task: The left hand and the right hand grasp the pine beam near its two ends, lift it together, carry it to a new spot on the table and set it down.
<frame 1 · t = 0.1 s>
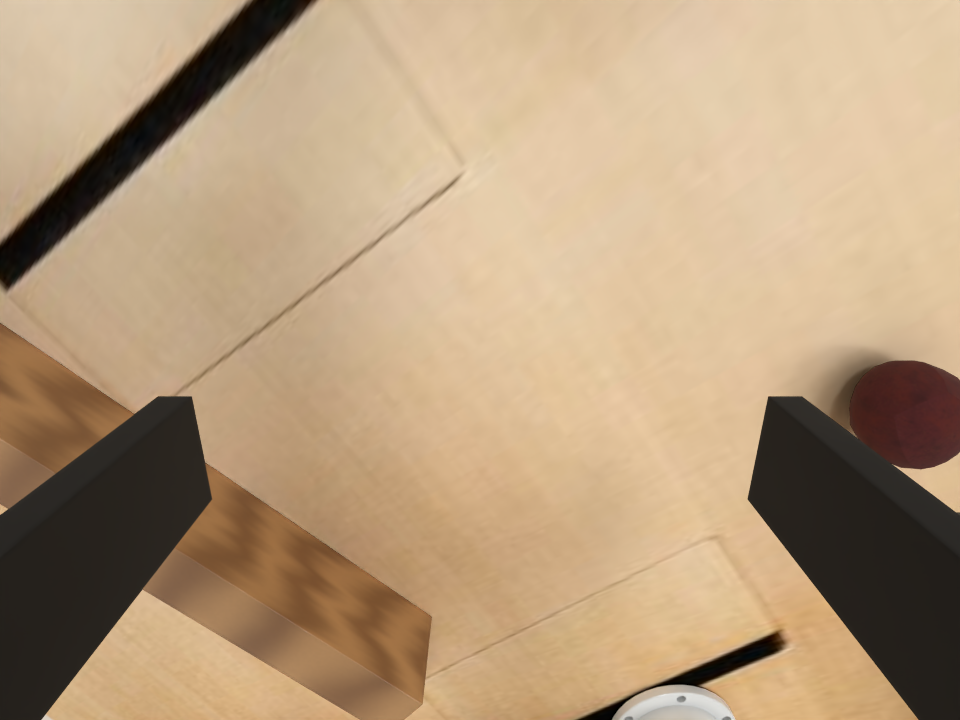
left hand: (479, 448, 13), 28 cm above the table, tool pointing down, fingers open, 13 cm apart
beam: (97, 418, 44), on the table
potato: (874, 391, 43), on the table
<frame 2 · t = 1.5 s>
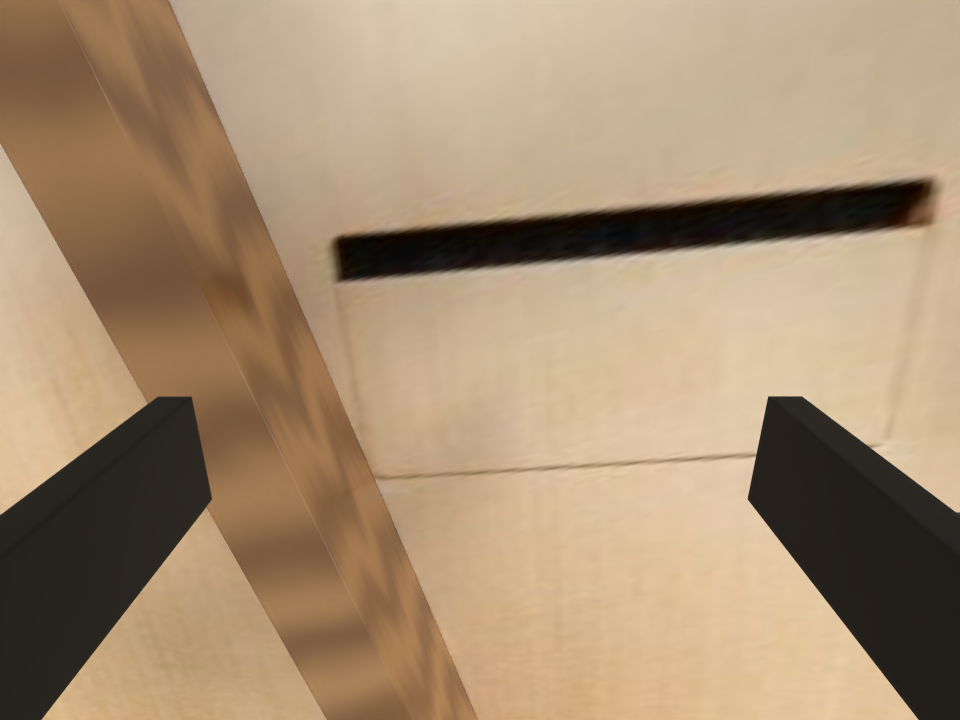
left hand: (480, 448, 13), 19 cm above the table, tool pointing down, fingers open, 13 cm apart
beam: (325, 452, 35), on the table
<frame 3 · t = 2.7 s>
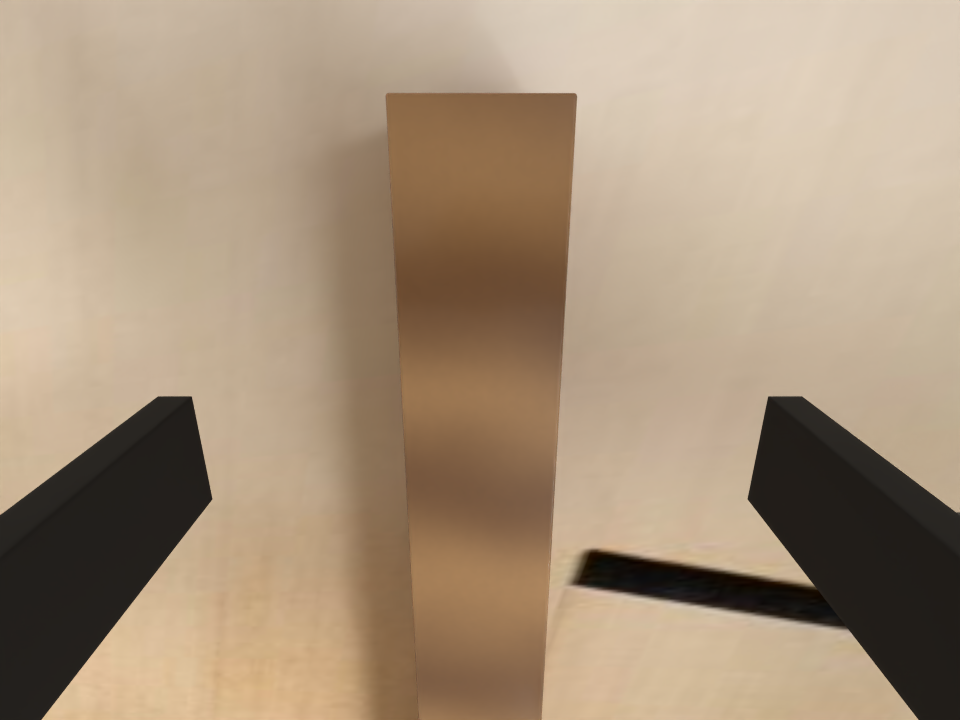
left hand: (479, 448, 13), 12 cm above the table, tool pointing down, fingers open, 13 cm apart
beam: (479, 717, 33), on the table, touching right hand
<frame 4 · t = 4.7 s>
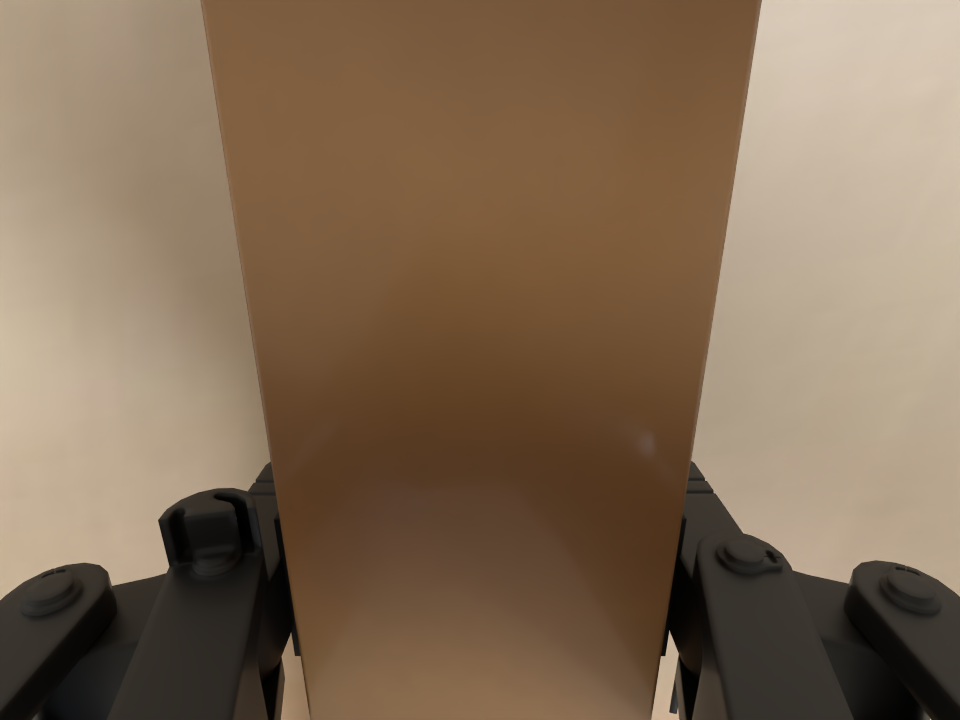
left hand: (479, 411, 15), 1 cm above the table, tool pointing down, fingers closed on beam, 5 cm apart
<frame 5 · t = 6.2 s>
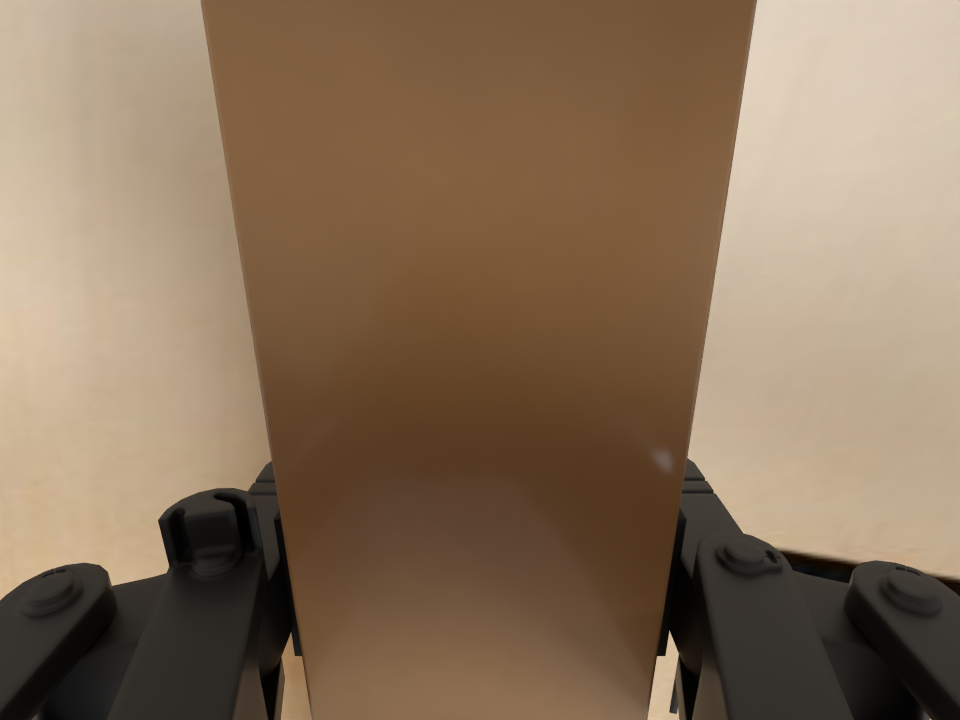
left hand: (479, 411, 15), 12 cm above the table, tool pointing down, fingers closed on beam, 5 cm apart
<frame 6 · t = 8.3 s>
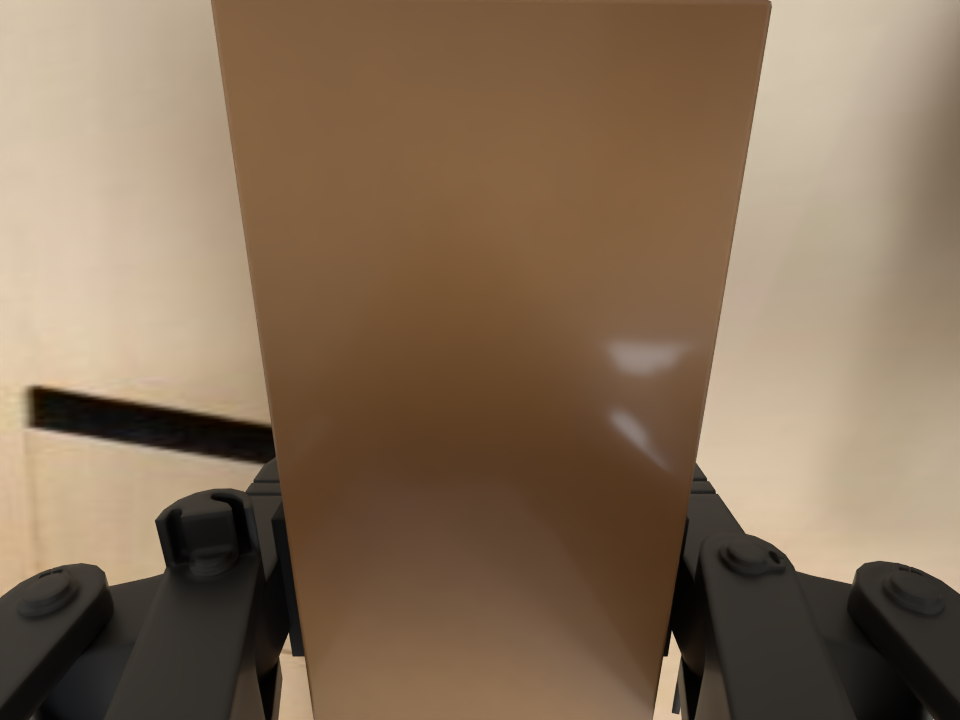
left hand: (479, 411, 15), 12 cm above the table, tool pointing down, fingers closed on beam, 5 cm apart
when the left hand's fingers open (2 cm above the table, at t = 10.0 s): beam drops 1 cm, on the table.
when the right hand's fingers open (5 cm above the table, at t = 10.1 s): beam stays where it is, on the table.
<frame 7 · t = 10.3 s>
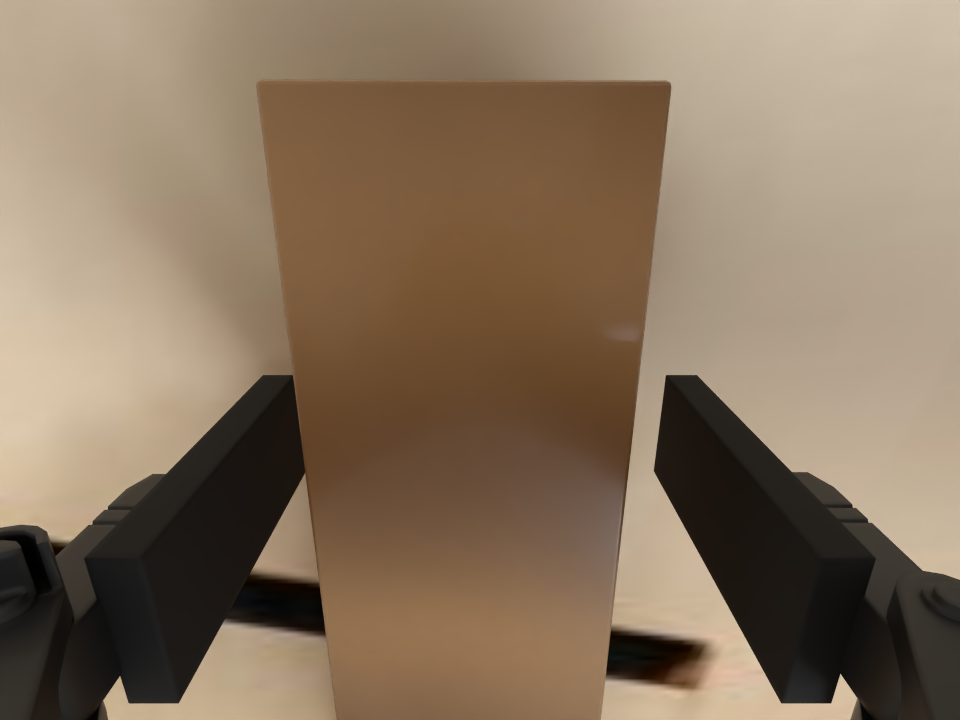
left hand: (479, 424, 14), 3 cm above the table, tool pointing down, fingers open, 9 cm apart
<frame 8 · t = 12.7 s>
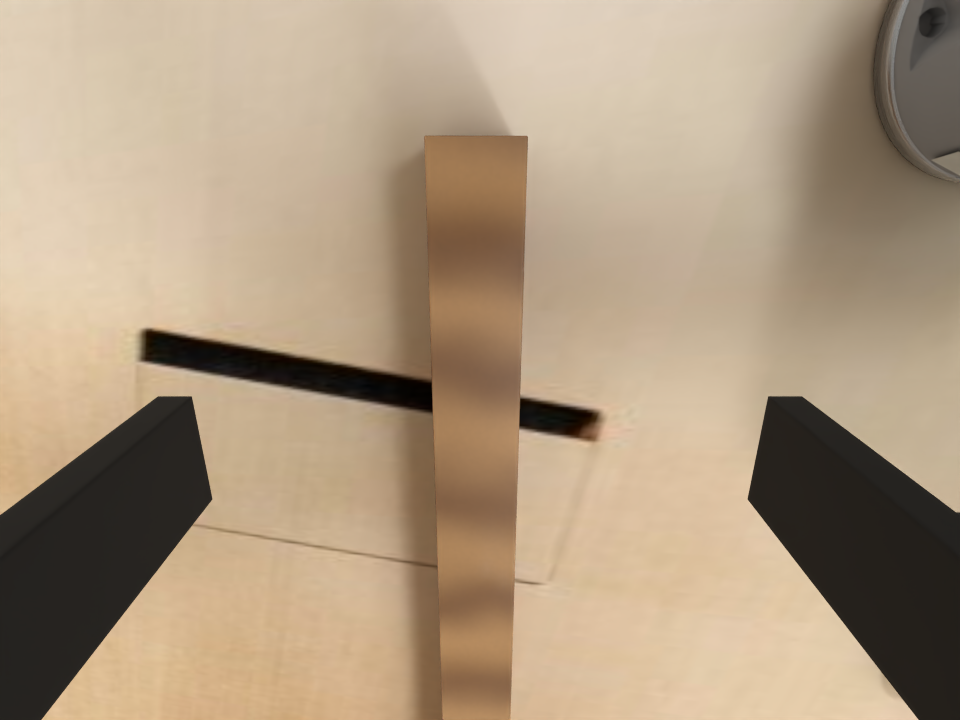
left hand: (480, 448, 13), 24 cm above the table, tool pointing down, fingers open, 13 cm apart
beam: (476, 581, 44), on the table
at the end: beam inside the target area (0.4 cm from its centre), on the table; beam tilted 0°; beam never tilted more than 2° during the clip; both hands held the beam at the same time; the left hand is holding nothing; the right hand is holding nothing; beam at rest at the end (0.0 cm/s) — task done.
